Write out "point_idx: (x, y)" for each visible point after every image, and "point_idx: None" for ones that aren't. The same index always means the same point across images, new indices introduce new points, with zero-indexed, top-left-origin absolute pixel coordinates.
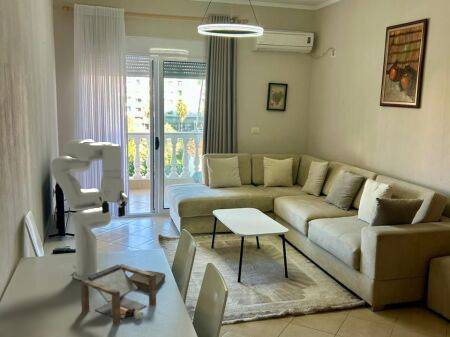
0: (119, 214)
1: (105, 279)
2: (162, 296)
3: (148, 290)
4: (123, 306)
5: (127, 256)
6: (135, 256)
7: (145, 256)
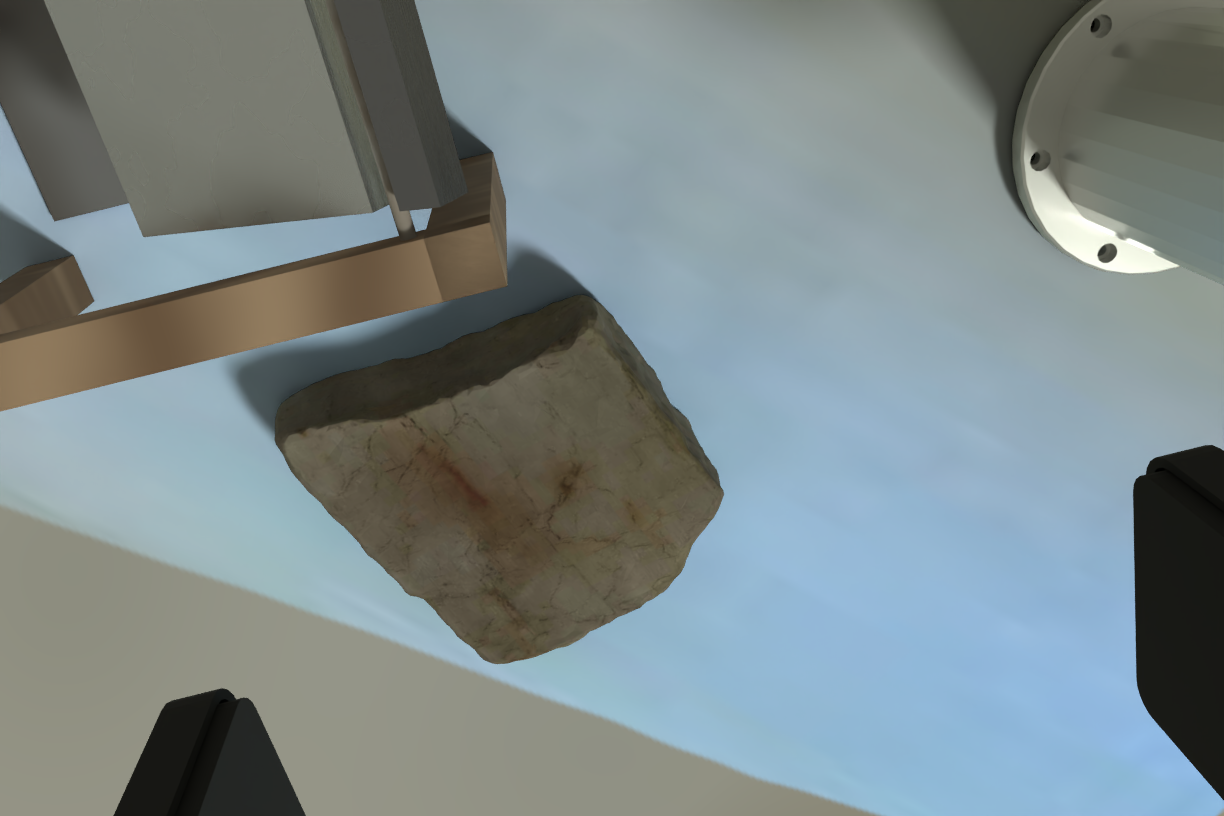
0: (149, 777)
1: None
2: (178, 441)
3: (326, 393)
4: None
5: None
6: None
7: (1083, 751)
